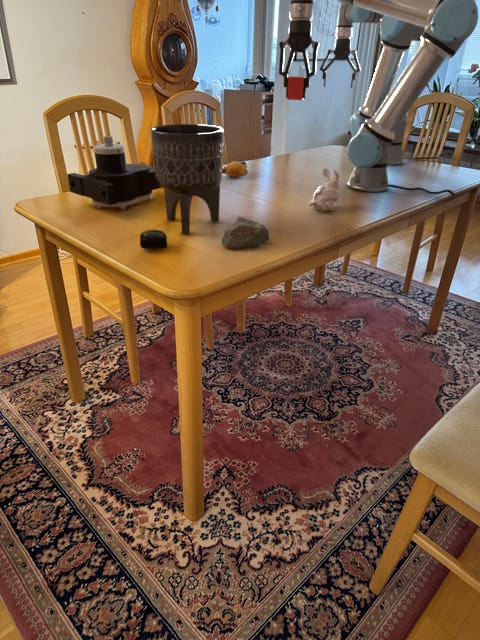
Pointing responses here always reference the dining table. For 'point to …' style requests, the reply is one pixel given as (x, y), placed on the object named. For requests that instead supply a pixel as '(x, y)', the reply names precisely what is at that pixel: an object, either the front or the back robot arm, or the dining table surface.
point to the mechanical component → (114, 178)
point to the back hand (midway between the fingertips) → (338, 87)
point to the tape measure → (153, 239)
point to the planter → (188, 167)
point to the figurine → (326, 192)
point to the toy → (235, 169)
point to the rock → (245, 234)
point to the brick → (295, 88)
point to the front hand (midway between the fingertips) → (295, 97)
